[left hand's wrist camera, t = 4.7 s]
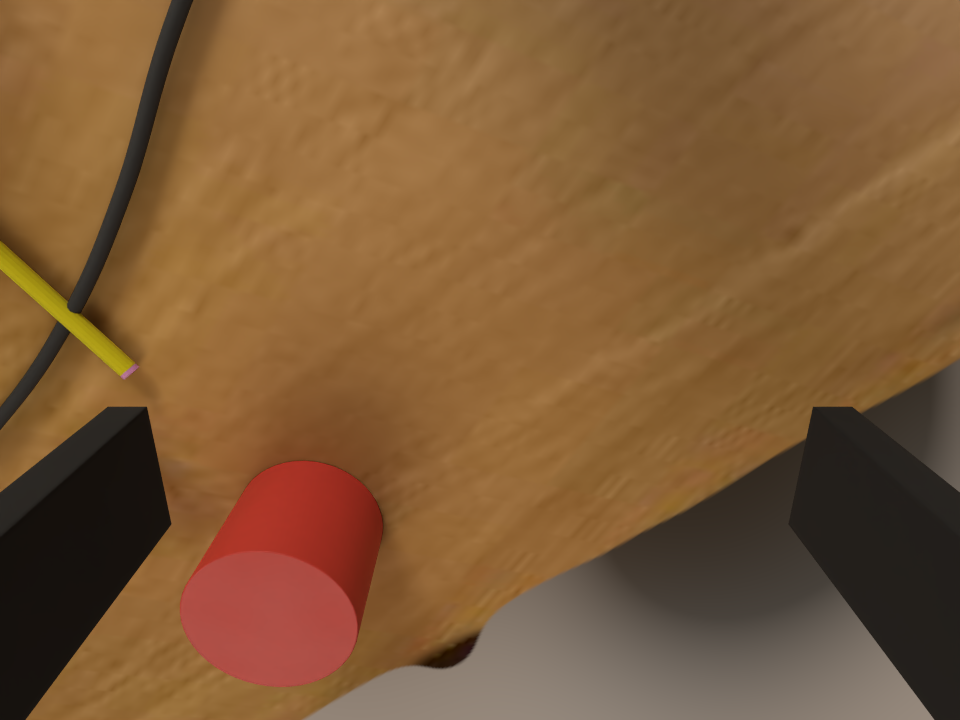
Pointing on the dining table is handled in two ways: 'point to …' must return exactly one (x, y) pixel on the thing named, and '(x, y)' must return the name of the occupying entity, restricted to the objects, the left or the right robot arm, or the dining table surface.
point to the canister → (286, 577)
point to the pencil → (65, 313)
